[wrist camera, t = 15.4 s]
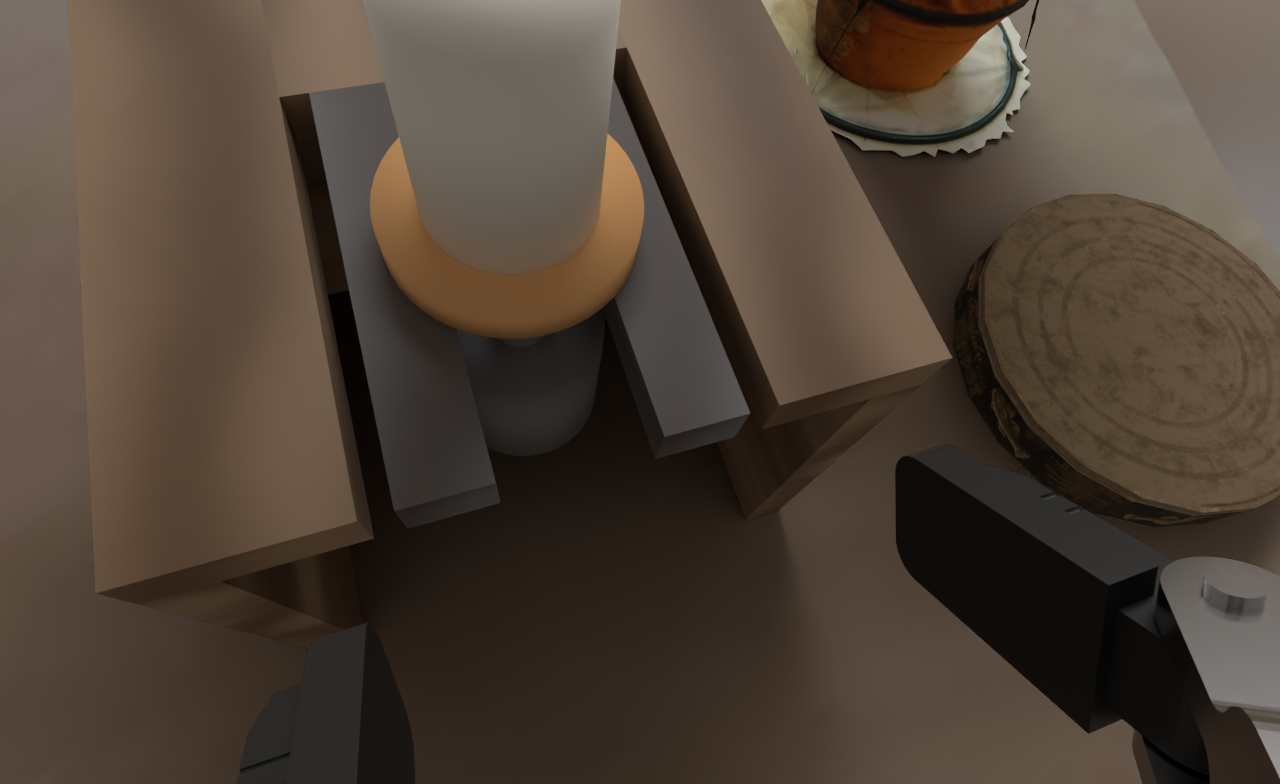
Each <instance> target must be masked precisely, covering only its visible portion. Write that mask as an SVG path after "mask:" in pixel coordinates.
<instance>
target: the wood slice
mask: <svg viewBox="0 0 1280 784" xmlns="http://www.w3.org/2000/svg"><path fill="white" fill-rule="evenodd" d="M953 349H954V352H955V356H956V359H957V362H958V365H959V369H960V372H961V375H962V378H963V381H964V385H965V388H966V391H967V394H968V397H969V398H970V400H971V402H972V403H973V405H974V406H975V408H976V409H977V411H978V412H979V414H980V415H981V417H982V418H983V420H984V422H985V423H986V425H987V426H988V428H989V429H990V431H991V432H992V434H993V435H994V437H995V438H996V440H997V442H998V443H999V445H1001V446H1002V447H1003V448H1004V449H1005V450H1006V451H1007V452H1008V453H1009V454H1010V455H1011V456H1012V457H1013V458H1015V459H1016V460H1017V461H1018V462H1019V463H1020V464H1021V465H1022V466H1023V467H1024V468H1025V469H1026V470H1027V471H1029V472H1030V473H1031V474H1032V475H1033V476H1034V477H1035V478H1036V479H1037V480H1038V481H1039V482H1040V483H1042V484H1043V485H1044V486H1045V487H1047V488H1049V489H1051V490H1053V491H1054V492H1056V493H1058V494H1060V495H1062V496H1063V497H1065V498H1067V499H1069V500H1071V501H1073V502H1074V503H1076V504H1078V505H1080V506H1082V507H1083V508H1085V509H1087V510H1089V511H1091V512H1093V513H1094V514H1096V515H1099V516H1103V517H1108V518H1112V519H1116V520H1120V521H1124V522H1129V523H1133V524H1137V525H1141V526H1145V527H1150V528H1159V527H1170V526H1180V525H1191V524H1202V523H1206V522H1209V521H1213V520H1216V519H1220V518H1223V517H1227V516H1230V515H1234V514H1237V513H1241V512H1244V511H1248V510H1251V509H1255V508H1258V507H1260V506H1261V505H1263V504H1265V503H1267V502H1269V501H1270V500H1272V499H1274V498H1276V497H1278V496H1280V291H1279V290H1278V289H1277V288H1276V286H1275V285H1274V284H1273V283H1272V282H1271V281H1270V279H1269V278H1268V277H1267V276H1266V275H1265V274H1264V273H1263V271H1262V270H1261V269H1260V268H1259V267H1258V266H1257V264H1255V263H1254V262H1253V261H1252V260H1250V259H1249V258H1248V257H1246V256H1245V255H1244V254H1242V253H1241V252H1240V251H1239V250H1237V249H1236V248H1235V247H1233V246H1232V245H1231V244H1230V243H1228V242H1227V241H1226V240H1224V239H1223V238H1222V237H1221V236H1219V235H1218V234H1217V233H1215V232H1214V231H1213V230H1211V229H1209V228H1207V227H1205V226H1203V225H1201V224H1199V223H1197V222H1195V221H1193V220H1191V219H1189V218H1187V217H1185V216H1183V215H1181V214H1179V213H1177V212H1175V211H1173V210H1171V209H1169V208H1167V207H1165V206H1161V205H1157V204H1153V203H1149V202H1145V201H1141V200H1137V199H1133V198H1129V197H1125V196H1121V195H1117V194H1091V195H1068V196H1065V197H1062V198H1059V199H1056V200H1053V201H1050V202H1048V203H1045V204H1042V205H1039V206H1036V207H1033V208H1030V209H1029V210H1028V211H1027V212H1026V213H1025V214H1024V215H1023V216H1021V217H1020V218H1019V219H1018V220H1017V221H1016V222H1015V223H1014V224H1013V225H1011V226H1010V227H1009V228H1008V229H1007V230H1006V231H1005V232H1004V233H1003V234H1001V235H1000V236H999V238H998V239H997V240H996V241H995V242H994V243H993V244H992V245H991V246H990V247H989V248H988V249H987V250H986V251H985V252H984V253H983V254H982V255H981V256H980V258H979V259H978V260H977V261H976V262H975V263H974V264H973V265H972V266H971V267H970V269H969V271H968V273H967V276H966V278H965V280H964V282H963V285H962V287H961V289H960V291H959V294H958V296H957V298H956V301H955V303H954V330H953Z"/></svg>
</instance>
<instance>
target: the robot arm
mask: <svg viewBox="0 0 1280 784" xmlns="http://www.w3.org/2000/svg"><path fill="white" fill-rule="evenodd" d="M895 481H896V544H897V548H898V552H899V555H900V558H901V560H902V562H903V564H904V566H905V567H906V569H907V571H908V572H909V573H910V575H911V576H912V577H913V578H914V579H915V580H916V581H917V582H918V583H920V584H921V585H922V586H923V587H924V588H925V589H926V590H927V591H929V592H930V593H931V594H932V595H933V596H934V597H935V598H936V599H938V600H939V601H940V602H941V603H942V604H943V605H944V606H945V607H947V608H948V609H949V610H950V611H951V612H952V613H953V614H954V615H956V616H957V617H958V618H959V619H960V620H961V621H962V622H963V623H965V624H966V625H967V626H968V627H969V628H970V629H971V630H972V631H974V632H975V633H976V634H977V635H978V636H979V637H980V638H981V639H983V640H984V641H985V642H986V643H987V644H988V645H989V646H990V647H992V648H993V649H994V650H995V651H996V652H997V653H998V654H999V655H1001V656H1002V657H1003V658H1004V659H1005V660H1006V661H1007V662H1008V663H1010V664H1011V665H1012V666H1013V667H1014V668H1015V669H1016V670H1017V671H1019V672H1020V673H1021V674H1022V675H1023V676H1024V677H1025V678H1026V679H1028V680H1029V681H1030V682H1031V683H1032V684H1033V685H1034V686H1035V687H1037V688H1038V689H1039V690H1040V691H1041V692H1042V693H1043V694H1044V695H1046V696H1047V697H1048V698H1049V699H1050V700H1051V701H1052V702H1053V703H1055V704H1056V705H1057V706H1058V707H1059V708H1060V709H1061V710H1062V711H1064V712H1065V713H1066V714H1067V715H1068V716H1069V717H1070V718H1071V719H1073V720H1074V721H1075V722H1076V723H1077V724H1078V725H1079V726H1080V727H1082V728H1083V729H1084V730H1085V731H1086V732H1087V733H1088V734H1089V733H1091V732H1094V731H1096V730H1098V729H1100V728H1103V727H1105V726H1107V725H1109V724H1112V723H1114V722H1116V721H1118V720H1121V719H1123V720H1125V721H1126V722H1127V723H1128V724H1129V725H1131V726H1132V727H1133V728H1134V734H1133V741H1132V748H1133V753H1134V757H1135V760H1136V763H1137V767H1138V770H1139V774H1140V777H1141V780H1142V784H1280V576H1278V575H1277V574H1275V573H1272V572H1270V571H1268V570H1266V569H1263V568H1260V567H1258V566H1255V565H1252V564H1249V563H1245V562H1241V561H1237V560H1232V559H1227V558H1219V557H1202V556H1201V557H1189V558H1184V559H1180V560H1177V561H1175V560H1173V559H1171V558H1169V557H1168V556H1166V555H1164V554H1162V553H1161V552H1159V551H1157V550H1155V549H1154V548H1152V547H1150V546H1148V545H1146V544H1145V543H1143V542H1141V541H1139V540H1138V539H1136V538H1134V537H1132V536H1131V535H1129V534H1127V533H1125V532H1124V531H1122V530H1120V529H1118V528H1117V527H1115V526H1113V525H1111V524H1109V523H1108V522H1106V521H1104V520H1102V519H1101V518H1099V517H1097V516H1095V515H1094V514H1092V513H1090V512H1088V511H1087V510H1085V509H1084V510H1082V511H1081V510H1080V509H1079V507H1078V505H1076V504H1074V503H1072V502H1071V501H1069V500H1067V499H1065V498H1064V497H1062V496H1060V495H1058V496H1055V495H1054V492H1053V491H1051V490H1050V489H1048V488H1046V487H1044V486H1043V485H1041V484H1039V483H1037V482H1036V481H1034V480H1032V479H1030V478H1028V477H1027V476H1025V475H1023V474H1019V473H1016V472H1013V471H1009V470H1006V469H1003V468H999V467H996V466H992V465H989V464H984V463H982V462H980V461H979V460H977V459H975V458H974V457H972V456H970V455H969V454H967V453H965V452H963V451H962V450H960V449H958V448H957V447H955V446H953V445H950V444H942V445H939V446H936V447H933V448H930V449H926V450H923V451H920V452H917V453H914V454H910V455H907V456H904V457H902V458H900V460H899V461H898V463H897V465H896V473H895ZM240 772H241V776H239V777H238V778H237V783H236V784H415V767H414V748H413V740H412V734H411V729H410V724H409V720H408V716H407V712H406V709H405V706H404V703H403V700H402V698H401V695H400V692H399V690H398V687H397V684H396V682H395V679H394V676H393V674H392V671H391V668H390V666H389V663H388V660H387V658H386V655H385V652H384V650H383V647H382V644H381V642H380V639H379V636H378V634H377V631H376V629H375V627H374V626H373V624H372V623H371V622H368V623H365V624H361V625H358V626H355V627H352V628H349V629H345V630H342V631H339V632H336V633H333V634H329V635H326V636H323V637H320V638H317V639H313V640H311V641H310V643H309V646H308V651H307V657H306V663H305V669H304V675H303V681H302V685H300V686H297V687H294V688H291V689H288V690H285V691H282V692H279V693H275V694H274V695H273V696H272V698H271V699H270V701H269V702H268V704H267V705H266V707H265V708H264V710H263V711H262V713H261V714H260V716H259V717H258V719H257V720H256V722H255V723H254V725H253V726H252V727H251V729H250V730H249V733H248V737H247V741H246V745H245V749H244V754H243V758H242V762H241V766H240Z"/></svg>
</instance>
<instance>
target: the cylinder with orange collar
mask: <svg viewBox="0 0 1280 784" xmlns="http://www.w3.org/2000/svg"><path fill="white" fill-rule="evenodd" d="M363 2H364V6H365V10H366V13H367V17H368V21H369V25H370V29H371V32H372V36H373V40H374V44H375V48H376V51H377V55H378V59H379V63H380V67H381V71H382V74H383V78H384V82H385V86H386V90H387V93H388V97H389V101H390V105H391V109H392V112H393V116H394V120H395V124H396V128H397V131H398V135H399V138H398V139H397V140H396V141H395V142H394V143H393V145H392V146H391V147H390V148H389V149H388V151H387V152H386V154H385V156H384V157H383V159H382V160H381V162H380V164H379V167H378V169H377V171H376V174H375V176H374V180H373V184H372V188H371V195H370V213H371V221H372V225H373V229H374V233H375V236H376V239H377V241H378V244H379V247H380V250H381V252H382V255H383V258H384V260H385V263H386V265H387V267H388V270H389V272H390V274H391V276H392V277H393V279H394V281H395V282H396V284H397V285H398V287H399V288H400V289H401V290H402V292H403V293H404V294H405V295H406V296H407V297H408V298H409V300H411V301H412V302H413V303H414V304H415V305H416V306H417V307H419V308H420V309H421V310H422V311H424V312H425V313H427V314H428V315H430V316H431V317H433V318H434V319H436V320H438V321H440V322H442V323H444V324H446V325H448V326H450V327H452V328H455V329H456V331H457V335H458V338H459V342H460V346H461V350H462V354H463V358H464V362H465V365H466V369H467V373H468V377H469V381H470V385H471V388H472V392H473V396H474V400H475V404H476V408H477V411H478V415H479V419H480V423H481V427H482V431H483V435H484V438H485V442H486V446H487V447H488V448H490V449H492V450H494V451H497V452H500V453H502V454H507V455H512V456H534V455H540V454H544V453H547V452H550V451H553V450H555V449H557V448H559V447H561V446H563V445H564V444H566V443H567V442H569V441H570V440H571V439H573V438H574V437H575V436H576V435H577V434H578V433H579V432H580V431H581V429H582V428H583V427H584V425H585V424H586V422H587V421H588V419H589V417H590V415H591V412H592V409H593V406H594V401H595V396H596V389H597V382H598V375H599V368H600V361H601V354H602V348H603V341H604V334H605V314H604V311H603V307H604V306H605V305H606V304H607V303H608V302H609V301H610V300H612V299H613V298H614V296H615V295H616V294H617V293H618V291H619V290H620V289H621V288H622V286H623V285H624V283H625V282H626V280H627V278H628V276H629V275H630V273H631V270H632V268H633V265H634V263H635V260H636V256H637V251H638V247H639V242H640V236H641V231H642V226H643V221H644V198H643V191H642V187H641V183H640V180H639V177H638V175H637V172H636V170H635V168H634V166H633V164H632V162H631V161H630V159H629V157H628V156H627V154H626V153H625V151H624V150H623V149H622V148H621V147H620V145H619V144H618V143H617V142H616V141H615V140H614V139H613V138H612V137H611V136H610V135H609V134H608V124H609V114H610V104H611V94H612V84H613V74H614V64H615V54H616V44H617V34H618V24H619V14H620V4H621V0H363Z"/></svg>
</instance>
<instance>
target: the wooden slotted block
mask: <svg viewBox="0 0 1280 784" xmlns="http://www.w3.org/2000/svg"><path fill="white" fill-rule="evenodd" d="M67 1H68V22H69V44H70V65H71V86H72V107H73V128H74V149H75V171H76V192H77V213H78V234H79V255H80V276H81V298H82V319H83V340H84V361H85V382H86V403H87V425H88V446H89V467H90V488H91V509H92V530H93V552H94V573H95V593H96V594H100V595H104V596H108V597H112V598H116V599H119V600H123V601H127V602H131V603H135V604H139V605H143V606H147V607H151V608H154V609H158V610H162V611H166V612H170V613H174V614H178V615H182V616H186V617H189V618H193V619H197V620H201V621H205V622H209V623H213V624H217V625H221V626H224V627H228V628H232V629H236V630H240V631H244V632H248V633H252V634H256V635H260V636H263V637H267V638H271V639H275V640H279V641H283V642H287V643H291V644H295V645H298V646H302V647H306V648H308V646H309V643H310V641H311V640H313V639H317V638H320V637H323V636H326V635H329V634H333V633H336V632H339V631H342V630H345V629H349V628H352V627H355V626H358V625H361V624H363V621H362V615H361V610H360V604H359V598H358V593H357V587H356V581H355V576H354V570H353V565H352V559H351V553H350V548H349V545H353V544H356V543H360V542H363V541H367V540H370V539H374V534H373V529H372V524H371V519H370V513H369V508H368V503H367V498H366V492H365V487H364V482H363V477H362V472H361V466H360V461H359V456H358V451H357V445H356V440H355V435H354V430H353V424H352V419H351V414H350V409H349V403H348V398H347V393H346V388H345V382H344V377H343V372H342V367H341V361H340V356H339V351H338V346H337V340H336V335H335V330H334V325H333V319H332V314H331V309H330V304H329V299H328V295H329V294H334V293H339V292H344V291H349V292H350V297H351V302H352V307H353V311H354V316H355V321H356V326H357V331H358V336H359V341H360V346H361V351H362V356H363V361H364V365H365V370H366V375H367V380H368V385H369V390H370V395H371V400H372V405H373V410H374V415H375V419H376V424H377V429H378V434H379V439H380V444H381V449H382V454H383V459H384V464H385V469H386V473H387V478H388V483H389V488H390V493H391V498H392V503H393V508H394V512H395V513H396V514H397V515H398V517H399V518H400V519H401V521H402V522H403V523H404V524H405V526H406V527H407V528H408V529H410V528H413V527H417V526H420V525H424V524H427V523H431V522H434V521H438V520H442V519H445V518H449V517H452V516H456V515H459V514H463V513H466V512H470V511H473V510H477V509H481V508H484V507H488V506H491V505H495V504H498V503H501V502H500V497H499V493H498V489H497V485H496V481H495V477H494V473H493V469H492V465H491V461H490V458H489V454H488V450H487V446H486V442H485V438H484V435H483V431H482V427H481V423H480V419H479V415H478V411H477V408H476V404H475V400H474V396H473V392H472V388H471V385H470V381H469V377H468V373H467V369H466V365H465V362H464V358H463V354H462V350H461V346H460V342H459V338H458V335H457V331H456V329H455V328H452V327H450V326H448V325H446V324H444V323H442V322H440V321H438V320H436V319H434V318H433V317H431V316H430V315H428V314H427V313H425V312H424V311H422V310H421V309H420V308H419V307H417V306H416V305H415V304H414V303H413V302H412V301H411V300H409V298H408V297H407V296H406V295H405V294H404V293H403V292H402V290H401V289H400V288H399V287H398V285H397V284H396V282H395V281H394V279H393V277H392V276H391V274H390V272H389V270H388V267H387V265H386V263H385V260H384V258H383V255H382V252H381V250H380V247H379V244H378V241H377V239H376V236H375V233H374V229H373V225H372V221H371V213H370V195H371V188H372V184H373V180H374V176H375V174H376V171H377V169H378V167H379V164H380V162H381V160H382V159H383V157H384V156H385V154H386V152H387V151H388V149H389V148H390V147H391V146H392V145H393V143H394V142H395V141H396V140H397V139H398V138H399V135H398V131H397V128H396V124H395V120H394V116H393V112H392V109H391V105H390V101H389V97H388V93H387V90H386V86H385V82H384V78H383V74H382V71H381V67H380V63H379V59H378V55H377V51H376V48H375V44H374V40H373V36H372V32H371V29H370V25H369V21H368V17H367V13H366V10H365V6H364V2H363V0H67ZM608 134H609V135H610V136H611V137H612V138H613V139H614V140H615V141H616V142H617V143H618V144H619V145H620V147H621V148H622V149H623V150H624V151H625V153H626V154H627V156H628V157H629V159H630V161H631V162H632V164H633V166H634V168H635V170H636V172H637V175H638V177H639V180H640V183H641V187H642V191H643V198H644V221H643V226H642V231H641V236H640V242H639V247H638V251H637V256H636V260H635V263H634V265H633V268H632V270H631V273H630V275H629V276H628V278H627V280H626V282H625V283H624V285H623V286H622V288H621V289H620V290H619V291H618V293H617V294H616V295H615V296H614V298H613V299H612V300H610V301H609V302H608V303H607V304H606V305H605V306H604V307H603V311H604V314H605V317H606V320H607V323H608V326H609V328H610V331H611V334H612V337H613V340H614V343H615V346H616V349H617V351H618V354H619V357H620V360H621V363H622V366H623V369H624V372H625V374H626V377H627V380H628V383H629V386H630V389H631V392H632V395H633V397H634V400H635V403H636V406H637V409H638V412H639V415H640V418H641V420H642V423H643V426H644V429H645V432H646V435H647V438H648V441H649V443H650V446H651V449H652V452H653V455H654V458H655V459H658V458H662V457H665V456H669V455H672V454H676V453H680V452H683V451H687V450H690V449H694V448H697V447H701V446H704V445H708V444H712V443H715V442H716V443H717V446H718V448H719V451H720V453H721V456H722V459H723V461H724V464H725V466H726V469H727V472H728V474H729V477H730V479H731V482H732V485H733V487H734V490H735V492H736V495H737V498H738V500H739V503H740V505H741V508H742V511H743V513H744V516H745V518H746V520H747V519H750V518H753V517H756V516H759V515H763V514H766V513H769V512H772V511H775V510H779V509H780V508H781V507H782V506H784V505H785V504H786V503H787V502H788V501H789V500H790V499H792V498H793V497H794V496H795V495H796V494H797V493H798V492H800V491H801V490H802V489H803V488H804V487H805V486H806V485H808V484H809V483H810V482H811V481H812V480H813V479H814V478H816V477H817V476H818V475H819V474H820V473H821V472H822V471H824V470H825V469H826V468H827V467H828V466H829V465H830V464H832V463H833V462H834V461H835V460H836V459H837V458H838V457H840V456H841V455H842V454H843V453H844V452H845V451H846V450H848V449H849V448H850V447H851V446H852V445H853V444H855V443H856V442H857V441H858V440H859V439H860V438H861V437H863V436H864V435H865V434H866V433H867V432H868V431H869V430H871V429H872V428H873V427H874V426H875V425H876V424H877V423H879V422H880V421H881V420H882V419H883V418H884V417H885V416H887V415H888V414H889V413H890V412H891V411H892V410H893V409H895V408H896V407H897V406H898V405H899V404H900V403H901V402H903V401H904V400H905V399H906V398H907V397H908V396H909V395H911V394H912V393H913V392H914V391H915V390H916V389H917V388H919V387H920V386H921V385H922V384H923V383H924V382H925V381H927V380H928V379H929V378H930V377H931V376H932V375H933V374H935V373H936V372H937V371H938V370H939V369H940V368H941V367H943V366H944V365H945V364H946V363H947V362H948V361H949V360H951V359H952V356H951V354H950V352H949V350H948V349H947V347H946V345H945V343H944V341H943V339H942V337H941V335H940V334H939V332H938V330H937V328H936V326H935V324H934V322H933V320H932V319H931V317H930V315H929V313H928V311H927V309H926V307H925V306H924V304H923V302H922V300H921V298H920V296H919V294H918V292H917V291H916V289H915V287H914V285H913V283H912V281H911V279H910V277H909V276H908V274H907V272H906V270H905V268H904V266H903V264H902V263H901V261H900V259H899V257H898V255H897V253H896V251H895V249H894V248H893V246H892V244H891V242H890V240H889V238H888V236H887V234H886V233H885V231H884V229H883V227H882V225H881V223H880V221H879V220H878V218H877V216H876V214H875V212H874V210H873V208H872V206H871V205H870V203H869V201H868V199H867V197H866V195H865V193H864V191H863V190H862V188H861V186H860V184H859V182H858V180H857V178H856V177H855V175H854V173H853V171H852V169H851V167H850V165H849V163H848V162H847V160H846V158H845V156H844V154H843V152H842V150H841V148H840V147H839V145H838V143H837V141H836V139H835V137H834V135H833V134H832V132H831V130H830V128H829V126H828V124H827V122H826V120H825V119H824V117H823V115H822V113H821V111H820V109H819V107H818V105H817V104H816V102H815V100H814V98H813V96H812V94H811V92H810V91H809V89H808V87H807V85H806V83H805V81H804V79H803V77H802V76H801V74H800V72H799V70H798V68H797V66H796V64H795V63H794V61H793V59H792V57H791V55H790V53H789V51H788V49H787V48H786V46H785V44H784V42H783V40H782V38H781V36H780V34H779V33H778V31H777V29H776V27H775V25H774V23H773V21H772V20H771V18H770V16H769V14H768V12H767V10H766V8H765V6H764V5H763V3H762V1H761V0H621V4H620V14H619V24H618V34H617V44H616V54H615V64H614V74H613V84H612V94H611V104H610V114H609V124H608Z"/></svg>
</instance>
